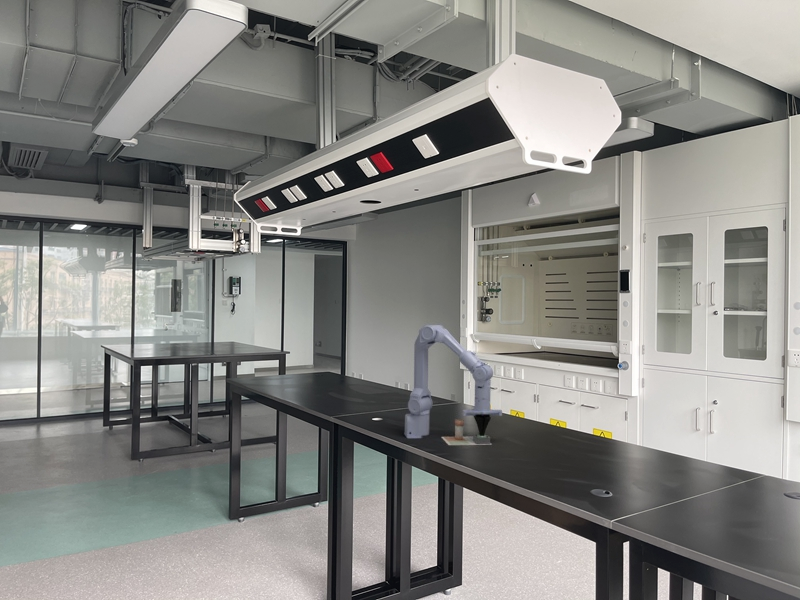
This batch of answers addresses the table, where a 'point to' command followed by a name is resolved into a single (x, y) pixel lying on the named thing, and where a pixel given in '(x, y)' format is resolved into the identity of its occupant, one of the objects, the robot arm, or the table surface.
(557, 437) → the table surface
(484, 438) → the button housing
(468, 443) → the board
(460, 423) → the orange and grey cylinder
